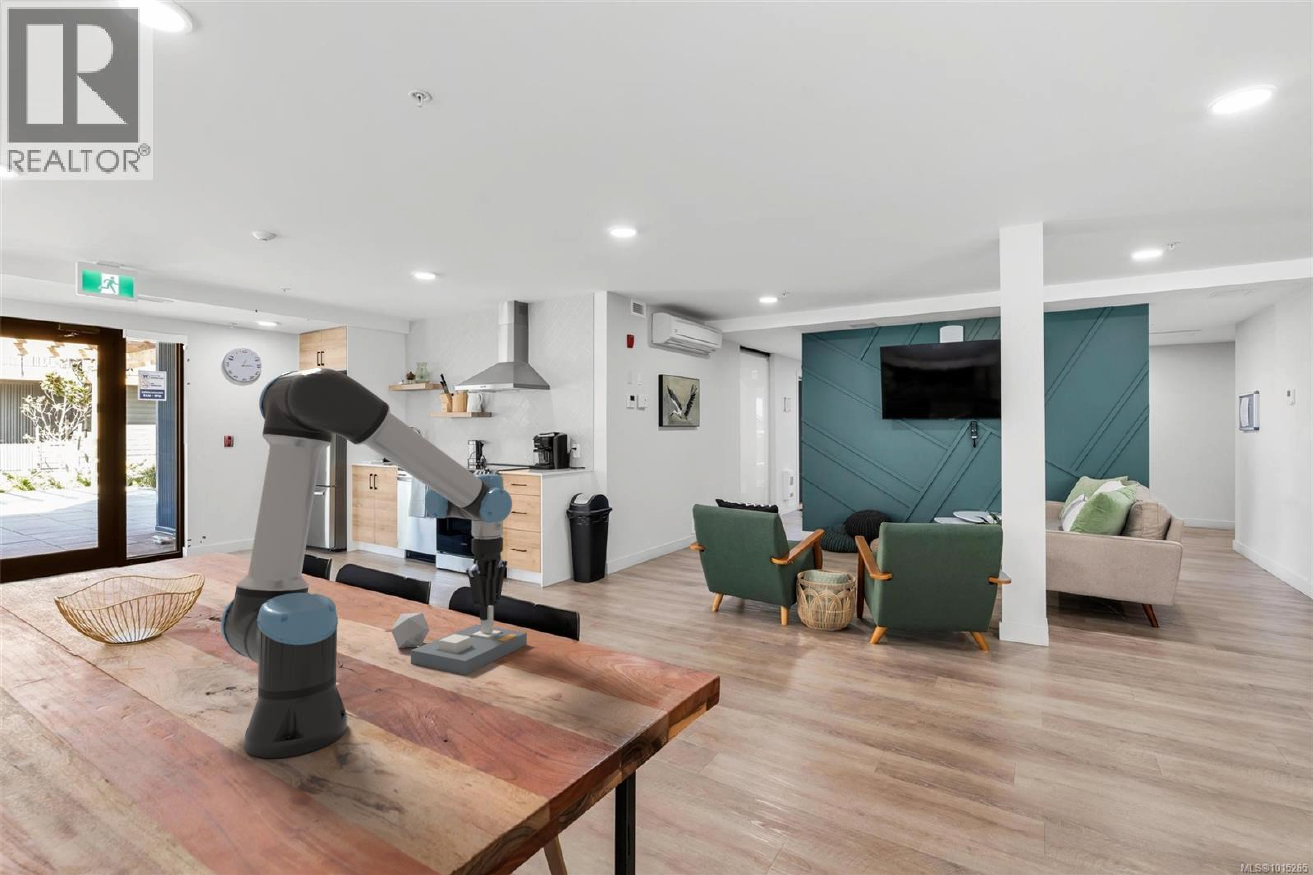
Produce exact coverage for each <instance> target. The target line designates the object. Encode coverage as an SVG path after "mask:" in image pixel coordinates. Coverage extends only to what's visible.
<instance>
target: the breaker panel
mask: <svg viewBox="0 0 1313 875" xmlns="http://www.w3.org/2000/svg"><path fill="white" fill-rule="evenodd" d="M493 630H496V631H501V634H500V635H498V636H496V637H493V638H491V639H489V640H487V639H481V638H475V637H472V634H474V633H476V632H479V631H481V624H477V623H476V624H474V625H471V626H469V627H466V628H463V629H461V630H459V631H456V632H454V633H451V634H448V635H446V636H443V637H440V638H438V639H435V640H432V641H430V642H428V643H425V644H423V645H421V646H420V647H414V648H413V649H411V650H410V664H412V665H416V664H418V666H421V665H422V666H421V667H425V668H431V669H435V668H436V670H441V671H444V672H445V671H446V672H450V673H454V674H459V673H460V674H459V675H464V676H465V675H467V674H470V673H472V672H474V671H476V670H478V669H479V668H483V667H484V666H486V665H488V664H491V663H493V662H494V661H496V660H498V659H500V658H502V657H504V655H505V656H506V655H509V654H510V653H513V652H514V651H517V650H518V649H521V648H523V647H525V646H527V642H528V641H527V640H528V639H527V634H528V633H527V632H525V631H520V630H513V629H507V628H506V629H505V628H500V627H494V626H493ZM453 634H457V635H463V636H469V637H471V648H468V649H466V650H464V651H462V652H459V653H457V654H453V653H448V652H443V651H439V640H441V639H443V638H446V637H448V636H451V635H453ZM522 646H523V647H522ZM477 668H478V669H477Z"/></svg>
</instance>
